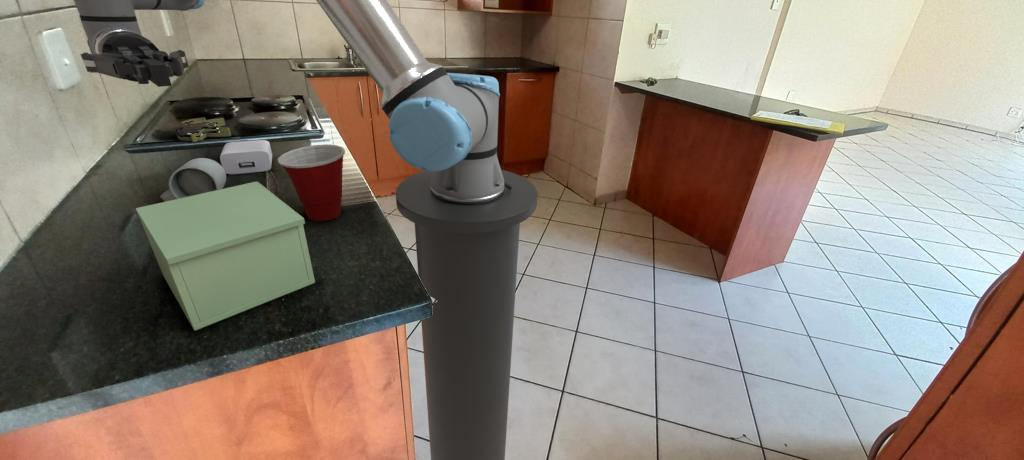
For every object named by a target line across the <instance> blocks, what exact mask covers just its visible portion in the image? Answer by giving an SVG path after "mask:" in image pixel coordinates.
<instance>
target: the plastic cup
mask: <svg viewBox="0 0 1024 460" xmlns="http://www.w3.org/2000/svg"><path fill="white" fill-rule="evenodd" d="M345 154H346V150H345V148H344V147H343V146H341V145H338V144H328V143H327V144H314V145H313V144H312V145H307V146H302V147H297V148H295V149H291V150H289V151H287V152H285V153H283V154H281V155H280V156H278V158H277V162H278V164H279V165H280V166H282V167H283V168H284V170H285V172H286V173H287V175H288V178H290V180H291V182H292V185H293V187H294V190H295V192H296V194H297V196H298V199H299V202H300V203H301V205H302V207H303V209H304V212H305V214H306V216H307V217H308V219H309V220H311V221H316V222H325V221H330V220H334V219H335V218H337V217H339V216H340V215H341V212H342V211H341V210H342V197H343V168H344V156H345Z"/></svg>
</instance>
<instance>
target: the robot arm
mask: <svg viewBox="0 0 1024 460" xmlns="http://www.w3.org/2000/svg"><path fill="white" fill-rule="evenodd" d="M315 1H316V2H317V4H318V5H319V6H320V8H322V11H323V12H324V13H325V15H326V16H327V17H328V19H329V20H330V22H331V23H332V24H333V26H334V27H335V28H336V30H337V32H338V33H339V34H340V36H341V37H342V38H343V40H344V41H345V43H346V44H347V45H348V47H349V48H350V49H351V51H352V52H353V54H354V55H355V57H356V58H357V59H358V61H359V62H360V64H361V65H362V66H363V68H364V69H365V71H366V73H368V75H369V76H370V78H371V79H372V81H373V83H375V85H376V86H377V88H378V89H379V90H380V92H381V95H382V96H381V103H380V108H381V110H382V111H383V113H384V114H385V115H386V117H387V118H388V120H389V121H388V128H389V133H388V137H389V140H390V143H391V145H392V148H393V149H394V150H395V152H396V153H397V155H398V156H399V157H400V158H401V159H402V160H403V161H404V162H405V163H407V164H408V165H409V166H412V167H414V168H415V169H418V170H421V171H432V172H433V174H432V177H431V183H430V189H431V194H432V195H433V196H434V197H435V198H437V199H439V200H441V201H444V202H447V203H451V204H457V205H480V204H485V203H489V202H493V201H495V200H497V199H499V198H500V197H502V196H503V194H504V190H505V187H506V188H508V189H509V190H511V189H512V186H511V185H510V184H508V183H507V182H505V181H504V178H503V175H502V171H501V170H502V168H501V165H500V162H499V159H498V135H499V134H498V133H499V132H498V131H499V106H500V105H499V103H500V97H501V93H500V86H499V85H500V84H499V81H498V79H497V78H496V77H494V76H490V75H481V74H467V73H458V72H457V73H456V72H447V71H446V70H445V68H444V66H443V65H441V64H437V63H432V62H430V61H428V60H427V59H426V57H425V55H424V54H423V53H422V51H421V50H420V48H419V47H418V45H417V43H416V42H415V41H414V39H413V38H412V36H411V35H410V33H409V32H408V30H407V29H406V27H405V25H404V24H403V23H402V21H401V20H400V18H399V17H398V15H397V14H396V12H395V10H394V9H393V8H392V6H391V4H390V3H389V2H388V0H315ZM73 2H74V4H75V8H76V9H77V12H78V14H79V15H78V17H79V19H80V23H81V26H82V28H83V30H84V33H85V36H86V38H87V40H86V44H87V45H88V47H89V51H90V53H89V52H83V53H80V57H81V59H82V62H83V64H84V67H85V69H86V72H88V73H93V74H94V73H95V74H102V75H105V76H109V77H111V78H112V77H113V78H117V79H120V80H124V81H125V80H126V81H130V82H134V83H135V82H136V83H137V84H138V85H147V84H150V82H151V83H152V84H154V85H155V86H156V87H159V88H160V87H172V81H171V79H170V78H173V77H182V76H184V72H185V69H187V68H189V67H190V66H189V62H188V59H187V58H188V57H187V55H186V52H185V51H184V50H182V49H178V50H175V51H169V54H168V53H167V52H166V51H164V50H160V49H159V48H158V47H157V45H156V44H155V43H153V42H152V40H150V39H149V38H147V37H145V36H143V34H142V30H141V29H140V25H139V23H138V19H137V15H136V11H181V12H182V11H183V12H185V11H189V10H198V9H200V8H201V7H203V6H204V5H205V0H73Z"/></svg>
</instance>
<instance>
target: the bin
mask: <svg viewBox="0 0 1024 460" xmlns="http://www.w3.org/2000/svg"><path fill="white" fill-rule="evenodd" d="M137 216H138V218H139V221H140V223H141V226H142V227H143V230H144V233H145V235H146V238H147V240H148V242H149V244H150V247H151V249H152V252H153V254H154V258H155V259H156V261H157V264H158V266H159V269H160V271H161V273H162V276H163V278H164V280H165V281H166V283H167V285H168V287H169V288H170V290H171V292H172V294H173V296H174V297H175V299H176V301H177V302H178V304H179V306H180V308H181V310H182V311H183V313H184V316H185V317H186V318H187V321H188V322H189V324H190V326H191V327H192V329H193V331H198V330H201V329H203V328H205V327H208V326H210V325H213V324H216V323H218V322H220V321H222V320H223V321H224V320H226V319H228V318H230V317H233V316H235V315H238V314H241V313H243V312H245V311H248V310H250V309H253V308H255V307H258V306H261V305H263V304H265V303H269V302H271V301H273V300H275V299H278V298H280V297H283V296H286V295H288V294H290V293H294V292H295V291H298V290H301V289H303V288H305V287H308V286H311V285H313V284H315V283H316V280H315V275H314V270H313V265H312V262H311V256H310V252H309V247H308V242H307V238H306V232H305V227H304V224H302V225H299V226H296V227H292V228H289V229H286V230H282V231H279V232H276V233H272V234H269V235H266V236H263V237H259V238H256V239H253V240H249V241H246V242H243V243H239V244H236V245H233V246H230V247H226V248H223V249H220V250H216V251H213V252H210V253H206V254H203V255H200V256H197V257H193V258H190V259H187V260H183V261H180V262H177V263H173V264H170V265H168V263H167V262H166V260H165V258H164V257H163V255H162V253H161V252H160V250H159V248H158V247H157V245H156V243H155V242H154V240H153V238H152V237H151V235H150V233H149V232H148V230H147V228H146V227H145V225H144V223H143V222H142V220H141V218H140V217H139V215H138V214H137Z"/></svg>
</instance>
